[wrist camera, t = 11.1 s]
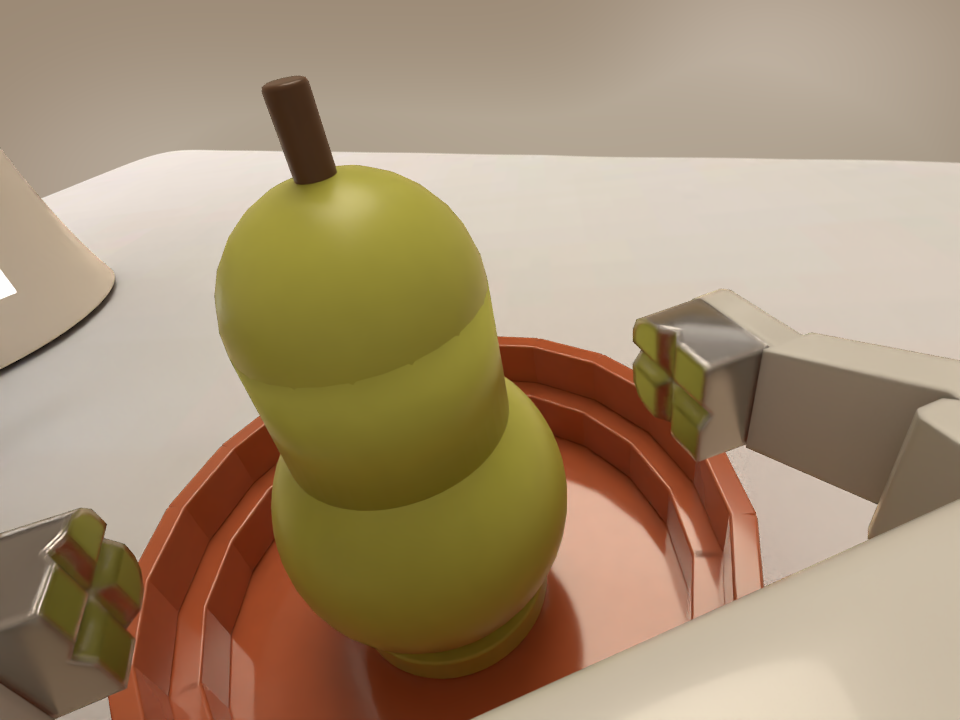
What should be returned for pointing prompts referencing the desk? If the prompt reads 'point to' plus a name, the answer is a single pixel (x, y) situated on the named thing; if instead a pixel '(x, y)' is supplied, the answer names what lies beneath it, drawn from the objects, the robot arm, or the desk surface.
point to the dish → (360, 668)
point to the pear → (388, 410)
